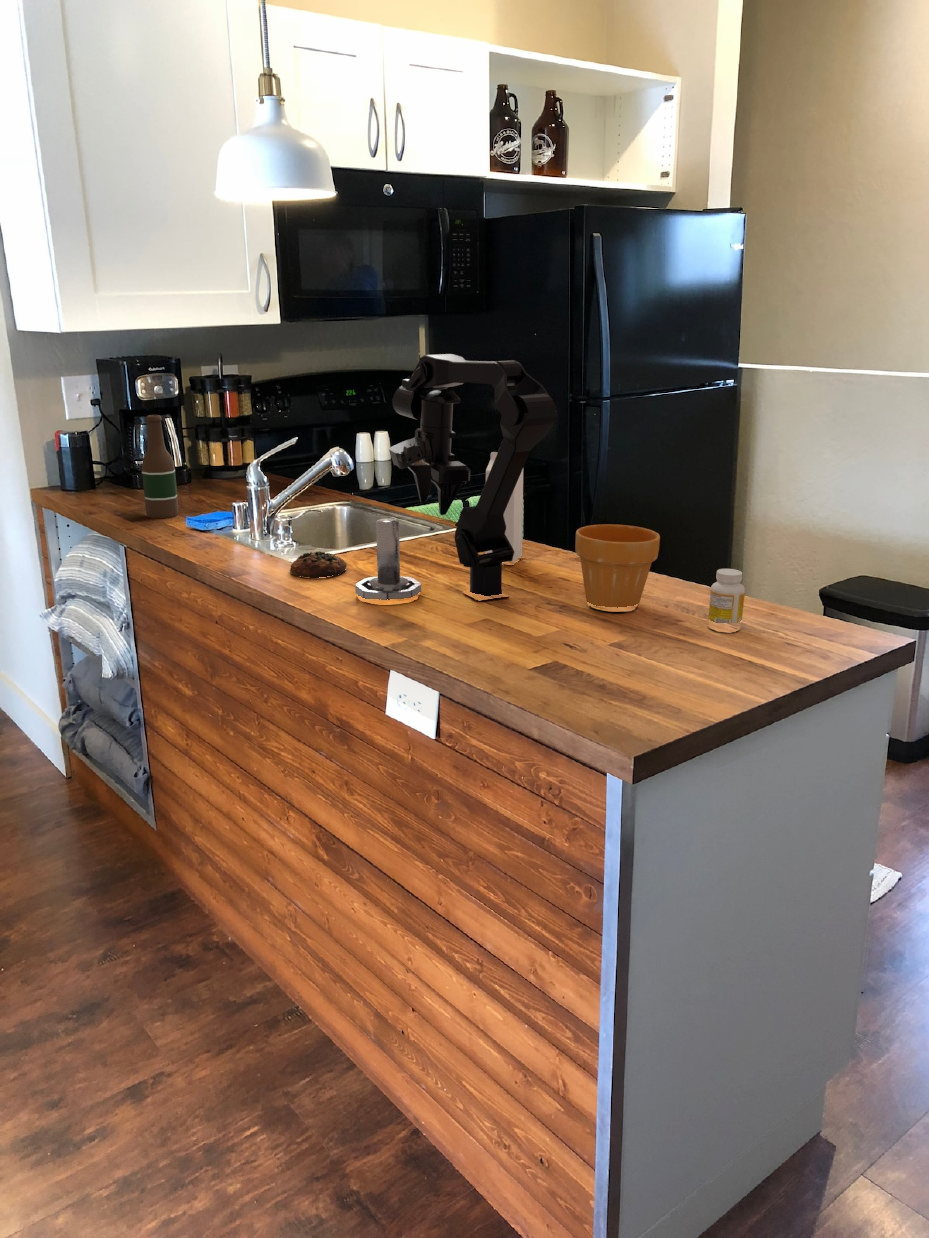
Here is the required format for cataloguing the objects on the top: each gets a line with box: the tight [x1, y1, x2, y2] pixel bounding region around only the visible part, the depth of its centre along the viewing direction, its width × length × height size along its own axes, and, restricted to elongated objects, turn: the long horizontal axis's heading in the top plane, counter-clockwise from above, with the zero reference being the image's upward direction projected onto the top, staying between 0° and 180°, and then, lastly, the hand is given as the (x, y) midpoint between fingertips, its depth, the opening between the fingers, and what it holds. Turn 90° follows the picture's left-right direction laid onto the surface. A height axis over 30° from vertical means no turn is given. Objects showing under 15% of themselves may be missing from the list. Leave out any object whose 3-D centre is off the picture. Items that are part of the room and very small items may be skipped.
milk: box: [484, 451, 524, 562], centre depth 201 cm, size 6×6×22 cm
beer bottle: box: [141, 414, 179, 519], centre depth 242 cm, size 8×8×24 cm
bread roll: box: [289, 551, 348, 579], centre depth 197 cm, size 11×11×5 cm
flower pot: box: [574, 523, 661, 608], centre depth 174 cm, size 14×14×13 cm
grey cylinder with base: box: [367, 518, 411, 592], centre depth 179 cm, size 8×8×13 cm
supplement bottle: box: [707, 568, 746, 623], centre depth 163 cm, size 5×5×10 cm
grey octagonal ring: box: [354, 575, 422, 600], centre depth 181 cm, size 11×11×2 cm
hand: (432, 508), depth 189 cm, fingers open, 9 cm apart
